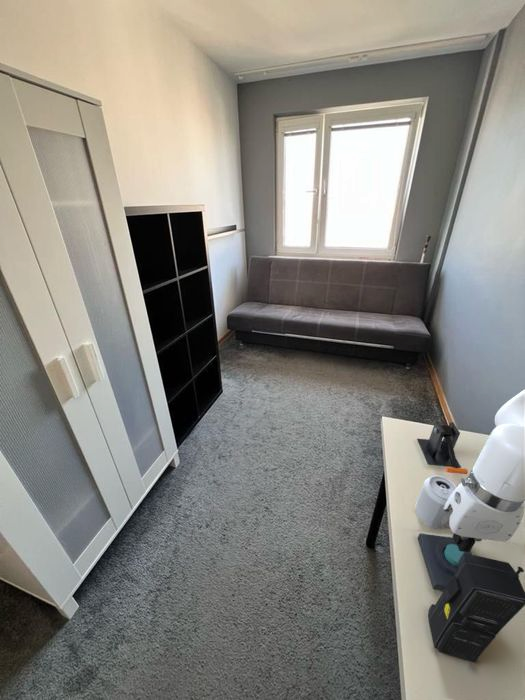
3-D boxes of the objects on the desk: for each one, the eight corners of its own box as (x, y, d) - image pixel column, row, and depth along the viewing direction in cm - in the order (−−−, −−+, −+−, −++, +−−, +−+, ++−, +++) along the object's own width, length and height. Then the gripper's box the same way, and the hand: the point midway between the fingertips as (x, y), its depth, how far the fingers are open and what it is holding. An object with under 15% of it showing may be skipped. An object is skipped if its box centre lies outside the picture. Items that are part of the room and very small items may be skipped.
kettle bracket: (459, 469, 83) (472, 441, 77) (427, 466, 84) (437, 438, 78) (445, 443, 91) (456, 416, 85) (416, 441, 93) (425, 414, 87)
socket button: (458, 549, 61) (461, 545, 60) (466, 568, 58) (469, 564, 57) (441, 546, 62) (443, 542, 61) (448, 565, 59) (450, 561, 58)
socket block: (462, 544, 65) (468, 534, 63) (485, 597, 57) (493, 588, 55) (417, 538, 67) (421, 529, 65) (433, 589, 58) (438, 580, 56)
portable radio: (428, 650, 50) (475, 589, 38) (420, 608, 56) (459, 542, 43) (477, 665, 49) (543, 605, 36) (464, 620, 54) (518, 554, 42)
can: (447, 510, 72) (462, 480, 66) (447, 537, 67) (463, 507, 61) (415, 496, 76) (426, 467, 70) (412, 521, 70) (424, 492, 64)
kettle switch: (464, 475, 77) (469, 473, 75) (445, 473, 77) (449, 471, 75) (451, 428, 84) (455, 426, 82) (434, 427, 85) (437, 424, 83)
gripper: (458, 502, 46) (428, 558, 55) (560, 515, 44) (512, 571, 53) (439, 464, 53) (415, 520, 62) (528, 473, 51) (490, 530, 59)
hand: (460, 543), depth 57 cm, fingers closed
